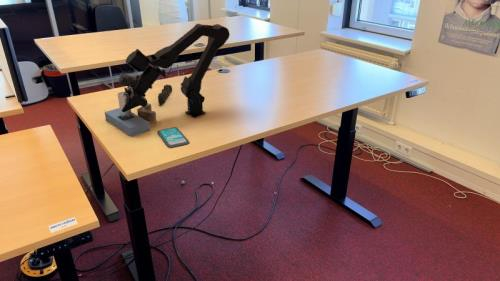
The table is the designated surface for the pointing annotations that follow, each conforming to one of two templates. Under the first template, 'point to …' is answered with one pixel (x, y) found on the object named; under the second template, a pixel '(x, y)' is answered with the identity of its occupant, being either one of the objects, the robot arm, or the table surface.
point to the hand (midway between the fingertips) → (121, 109)
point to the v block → (147, 113)
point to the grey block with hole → (127, 122)
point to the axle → (122, 101)
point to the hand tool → (164, 94)
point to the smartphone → (172, 137)
